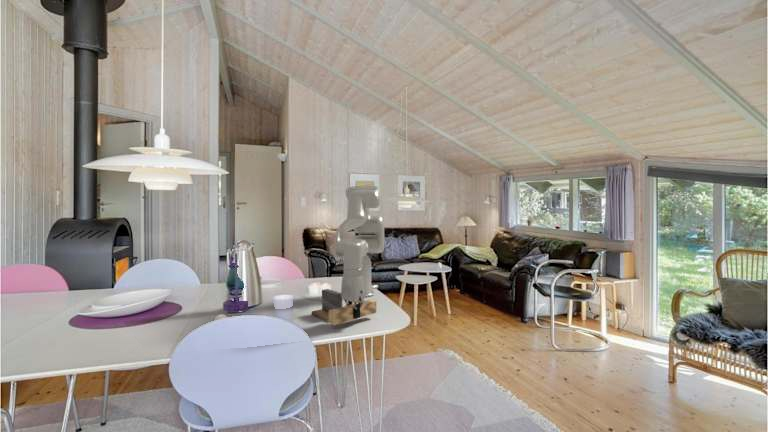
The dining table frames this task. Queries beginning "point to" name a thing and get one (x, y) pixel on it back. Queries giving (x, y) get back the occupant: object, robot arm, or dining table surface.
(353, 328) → the dining table surface
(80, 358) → the dining table surface
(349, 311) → the oak bar
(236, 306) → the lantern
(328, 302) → the stand
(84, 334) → the dining table surface
